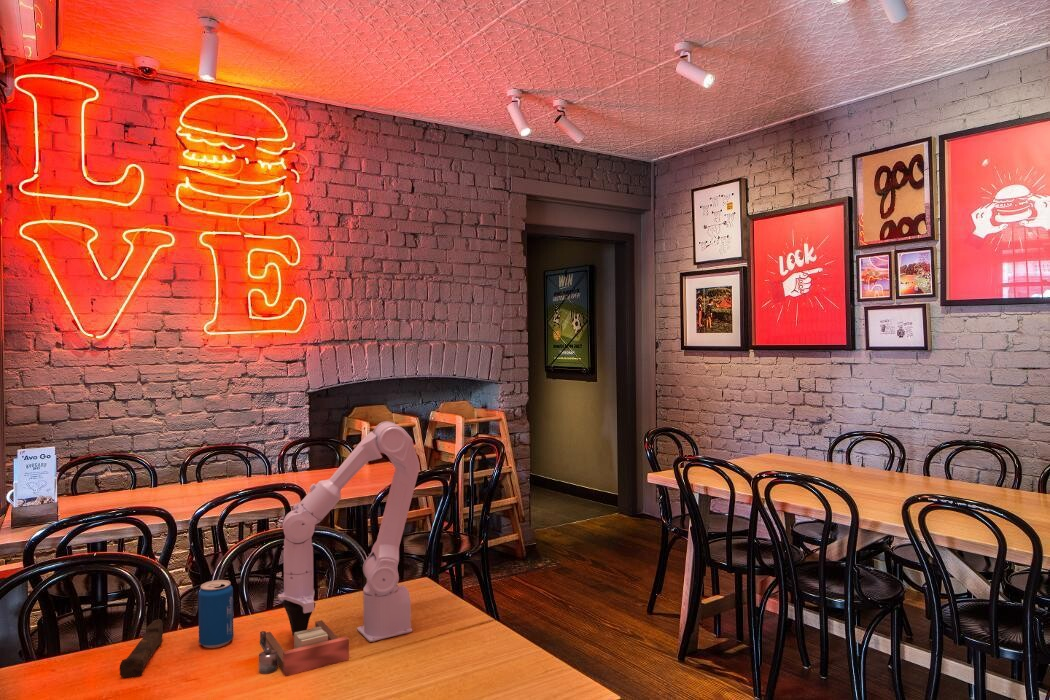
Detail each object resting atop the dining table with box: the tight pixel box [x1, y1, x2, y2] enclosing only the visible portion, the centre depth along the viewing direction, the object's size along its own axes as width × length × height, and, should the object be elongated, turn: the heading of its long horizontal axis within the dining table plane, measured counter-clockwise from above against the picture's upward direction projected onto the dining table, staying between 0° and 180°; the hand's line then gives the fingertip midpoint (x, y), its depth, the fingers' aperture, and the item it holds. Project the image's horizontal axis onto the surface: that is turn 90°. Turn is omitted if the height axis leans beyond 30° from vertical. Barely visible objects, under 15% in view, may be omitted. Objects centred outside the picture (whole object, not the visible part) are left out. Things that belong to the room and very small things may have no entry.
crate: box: [293, 627, 328, 649], centre depth 135 cm, size 5×5×5 cm
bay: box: [266, 619, 350, 677], centre depth 138 cm, size 12×17×4 cm
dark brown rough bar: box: [119, 618, 164, 679], centre depth 137 cm, size 19×4×5 cm, turn 10°
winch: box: [258, 630, 278, 675], centre depth 132 cm, size 3×6×6 cm, turn 33°
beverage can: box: [197, 579, 234, 649], centre depth 143 cm, size 6×6×12 cm
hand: (299, 637), depth 142 cm, fingers closed
